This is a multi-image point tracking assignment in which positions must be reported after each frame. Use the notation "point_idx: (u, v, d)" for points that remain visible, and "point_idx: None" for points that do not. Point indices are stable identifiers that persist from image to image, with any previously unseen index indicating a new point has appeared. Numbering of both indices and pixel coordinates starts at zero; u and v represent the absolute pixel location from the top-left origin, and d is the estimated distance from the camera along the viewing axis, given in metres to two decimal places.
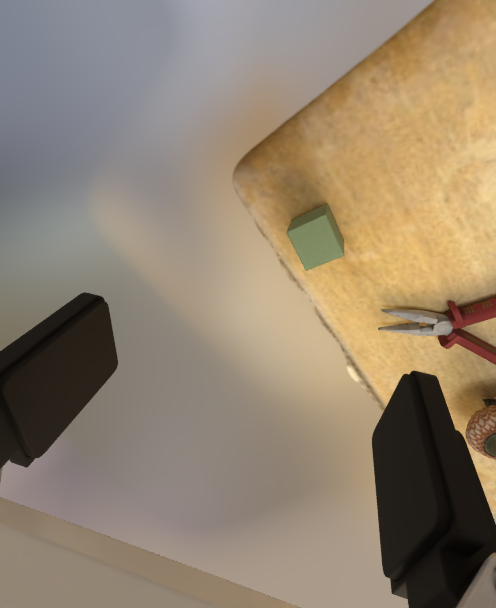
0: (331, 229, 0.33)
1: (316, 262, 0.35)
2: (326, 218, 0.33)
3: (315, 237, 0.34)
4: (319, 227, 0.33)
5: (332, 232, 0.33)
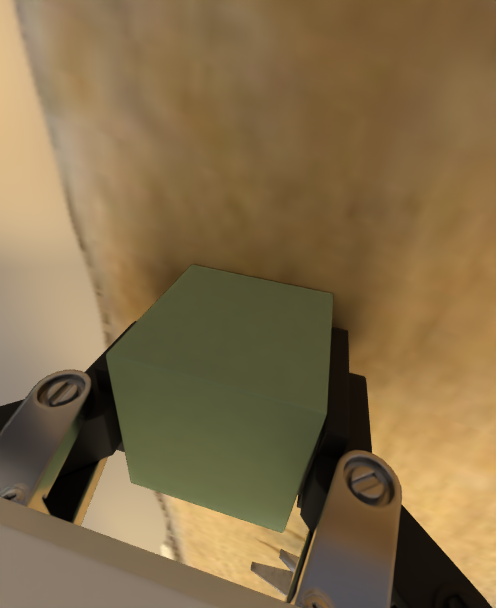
0: (303, 464, 0.07)
1: (178, 490, 0.09)
2: (316, 427, 0.06)
3: (222, 444, 0.07)
4: (261, 431, 0.06)
5: (299, 473, 0.07)
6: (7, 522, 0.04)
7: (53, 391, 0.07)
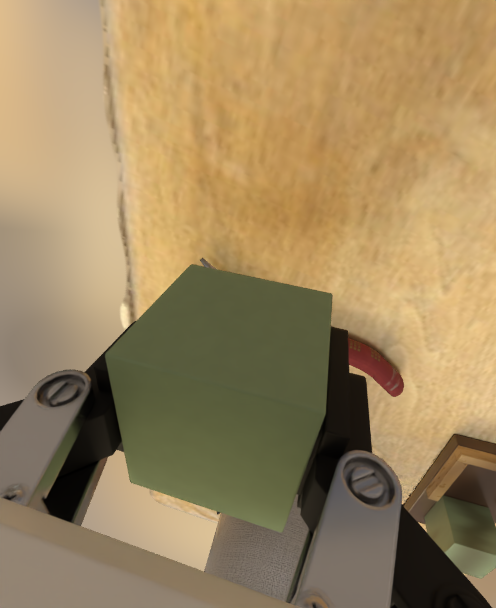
0: (302, 464, 0.07)
1: (177, 490, 0.09)
2: (315, 426, 0.06)
3: (221, 444, 0.07)
4: (260, 430, 0.06)
5: (298, 473, 0.07)
6: (7, 522, 0.04)
7: (53, 391, 0.07)
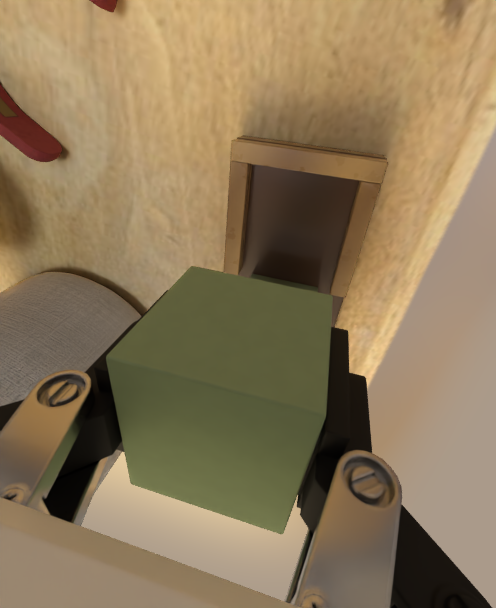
0: (303, 466, 0.07)
1: (178, 492, 0.09)
2: (315, 429, 0.06)
3: (221, 446, 0.07)
4: (261, 433, 0.06)
5: (298, 475, 0.07)
6: (7, 522, 0.04)
7: (53, 391, 0.07)
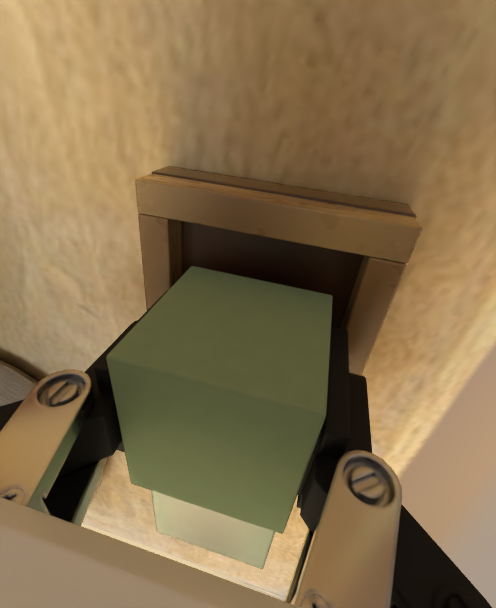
0: (303, 465, 0.07)
1: (178, 491, 0.09)
2: (315, 428, 0.06)
3: (222, 445, 0.07)
4: (261, 432, 0.06)
5: (298, 475, 0.07)
6: (7, 522, 0.04)
7: (53, 391, 0.07)
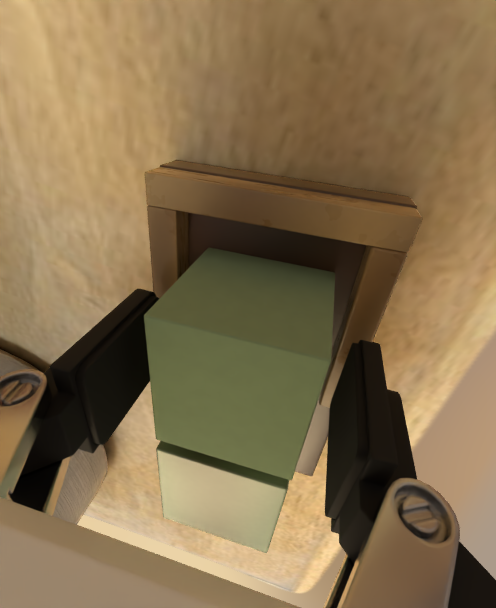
0: (310, 410, 0.08)
1: (199, 444, 0.10)
2: (322, 373, 0.07)
3: (241, 395, 0.08)
4: (275, 380, 0.08)
5: (306, 419, 0.08)
6: (7, 522, 0.04)
7: (7, 391, 0.07)
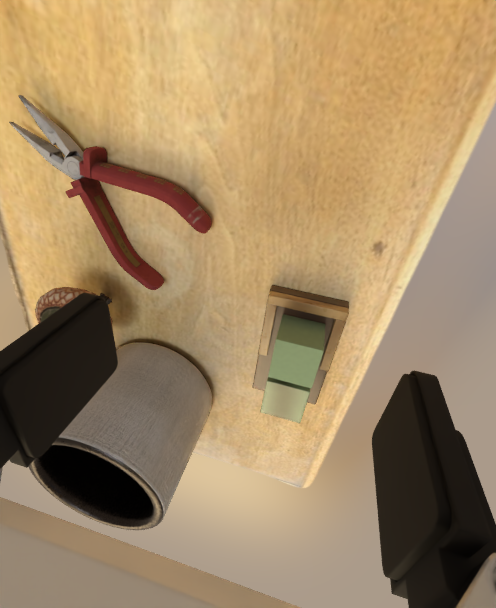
0: (318, 364, 0.30)
1: (283, 377, 0.32)
2: (321, 354, 0.29)
3: (299, 360, 0.30)
4: (309, 356, 0.30)
5: (317, 367, 0.30)
6: (7, 522, 0.04)
7: None
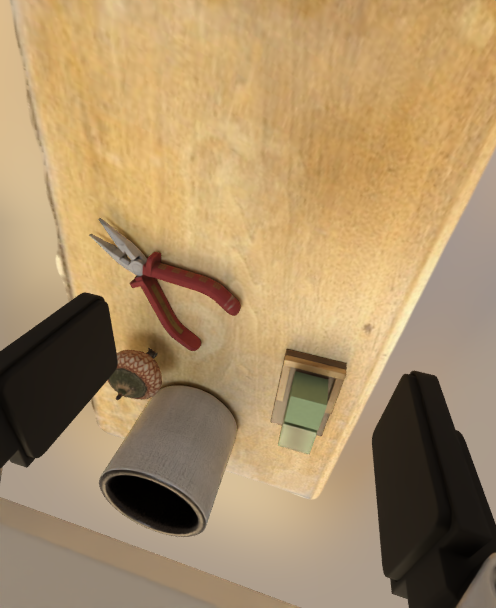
0: (323, 414, 0.40)
1: (296, 422, 0.42)
2: (325, 407, 0.39)
3: (308, 411, 0.40)
4: (316, 408, 0.39)
5: (322, 416, 0.40)
6: (7, 522, 0.04)
7: None
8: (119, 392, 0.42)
